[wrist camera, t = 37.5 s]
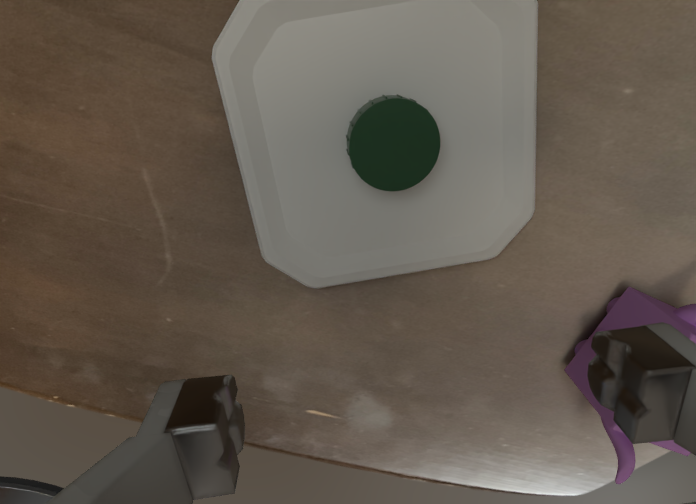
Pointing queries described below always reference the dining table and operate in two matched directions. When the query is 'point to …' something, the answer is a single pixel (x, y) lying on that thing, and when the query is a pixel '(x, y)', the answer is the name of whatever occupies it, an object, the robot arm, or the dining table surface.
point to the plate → (343, 103)
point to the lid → (393, 143)
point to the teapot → (622, 314)
